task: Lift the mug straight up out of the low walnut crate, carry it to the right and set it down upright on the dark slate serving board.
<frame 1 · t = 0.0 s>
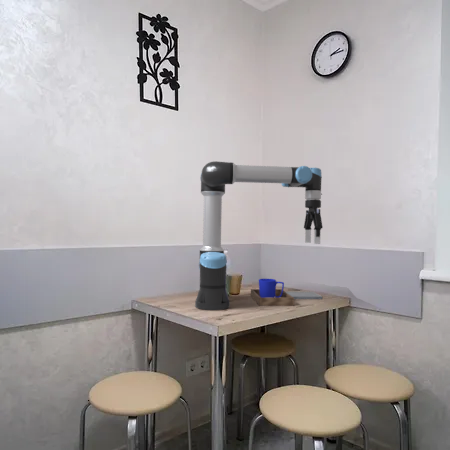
hand: (312, 243, 176), 28 cm above the table, fingers open, 13 cm apart
mug: (270, 301, 174), resting in crate
board: (300, 296, 187), on the table
crate: (270, 300, 174), on the table
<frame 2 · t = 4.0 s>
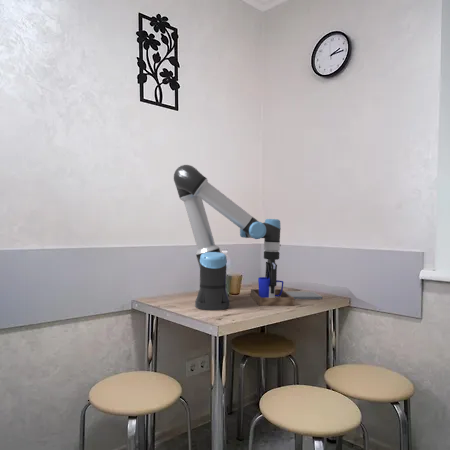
hand: (269, 298, 174), 1 cm above the table, fingers closed on mug, 7 cm apart
mug: (270, 299, 173), resting in crate, touching gripper
when the fingers open (2 cm above the table, at t = 8.8 s): mug stays where it is, resting on board.
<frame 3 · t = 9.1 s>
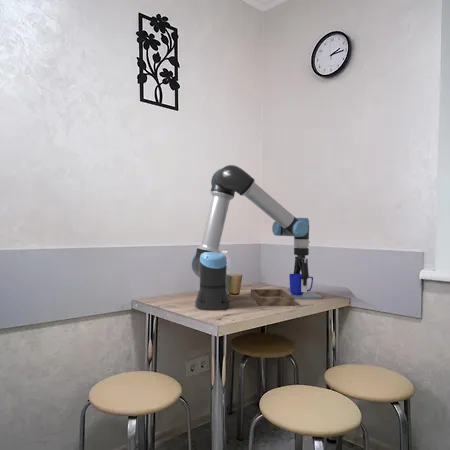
hand: (300, 290, 187), 3 cm above the table, fingers open, 11 cm apart
mug: (300, 294, 186), point 1 cm above the table, touching board
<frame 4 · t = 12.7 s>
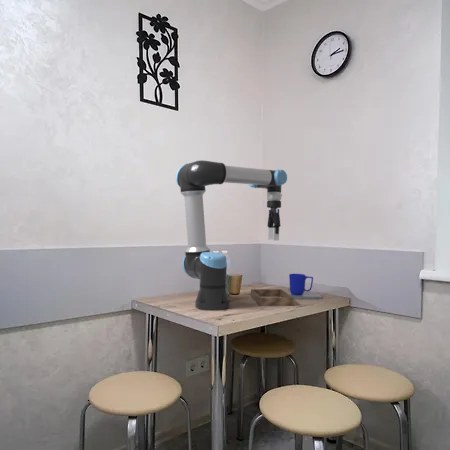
hand: (273, 239, 194), 29 cm above the table, fingers open, 13 cm apart
nothing on the table moved.
at the end: mug inside the target area on the board (0.5 cm from its centre), point 1.0 cm above the board's base; mug touching board; mug tilted 0° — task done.
